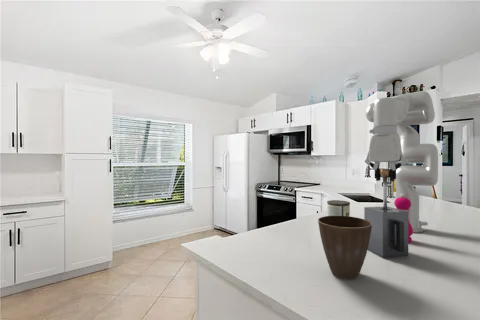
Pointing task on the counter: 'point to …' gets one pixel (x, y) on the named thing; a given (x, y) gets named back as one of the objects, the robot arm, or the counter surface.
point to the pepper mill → (405, 205)
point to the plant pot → (345, 244)
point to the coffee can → (338, 208)
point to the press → (388, 231)
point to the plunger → (384, 185)
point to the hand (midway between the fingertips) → (385, 180)
